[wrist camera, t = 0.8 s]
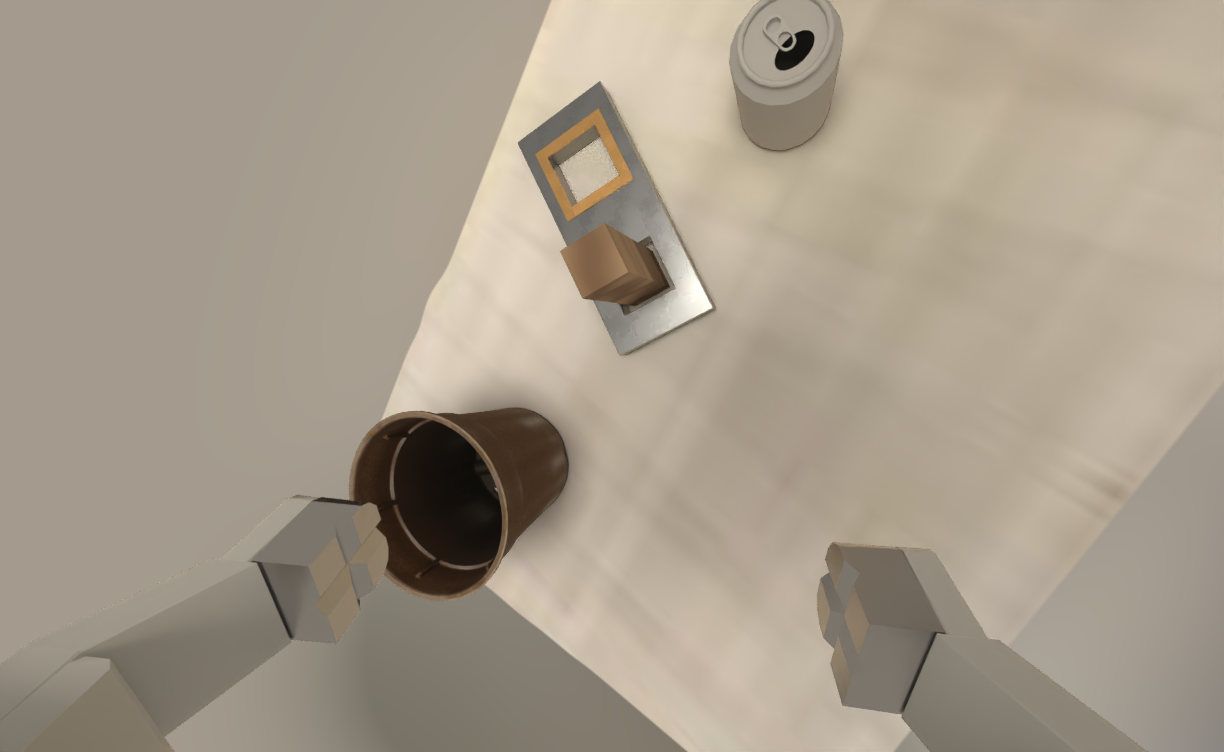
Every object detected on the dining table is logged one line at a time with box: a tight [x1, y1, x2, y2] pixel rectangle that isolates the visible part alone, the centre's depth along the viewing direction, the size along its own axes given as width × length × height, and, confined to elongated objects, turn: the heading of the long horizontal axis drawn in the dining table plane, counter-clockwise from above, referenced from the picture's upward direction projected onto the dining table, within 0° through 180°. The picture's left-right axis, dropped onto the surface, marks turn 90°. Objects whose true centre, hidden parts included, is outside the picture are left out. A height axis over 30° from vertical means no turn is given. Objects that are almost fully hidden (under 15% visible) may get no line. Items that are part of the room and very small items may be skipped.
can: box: [729, 0, 843, 150], centre depth 38 cm, size 8×8×12 cm
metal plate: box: [518, 81, 716, 356], centre depth 49 cm, size 10×24×3 cm, turn 28°
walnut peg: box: [560, 223, 670, 306], centre depth 43 cm, size 4×4×14 cm
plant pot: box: [349, 408, 568, 601], centre depth 49 cm, size 16×16×16 cm
